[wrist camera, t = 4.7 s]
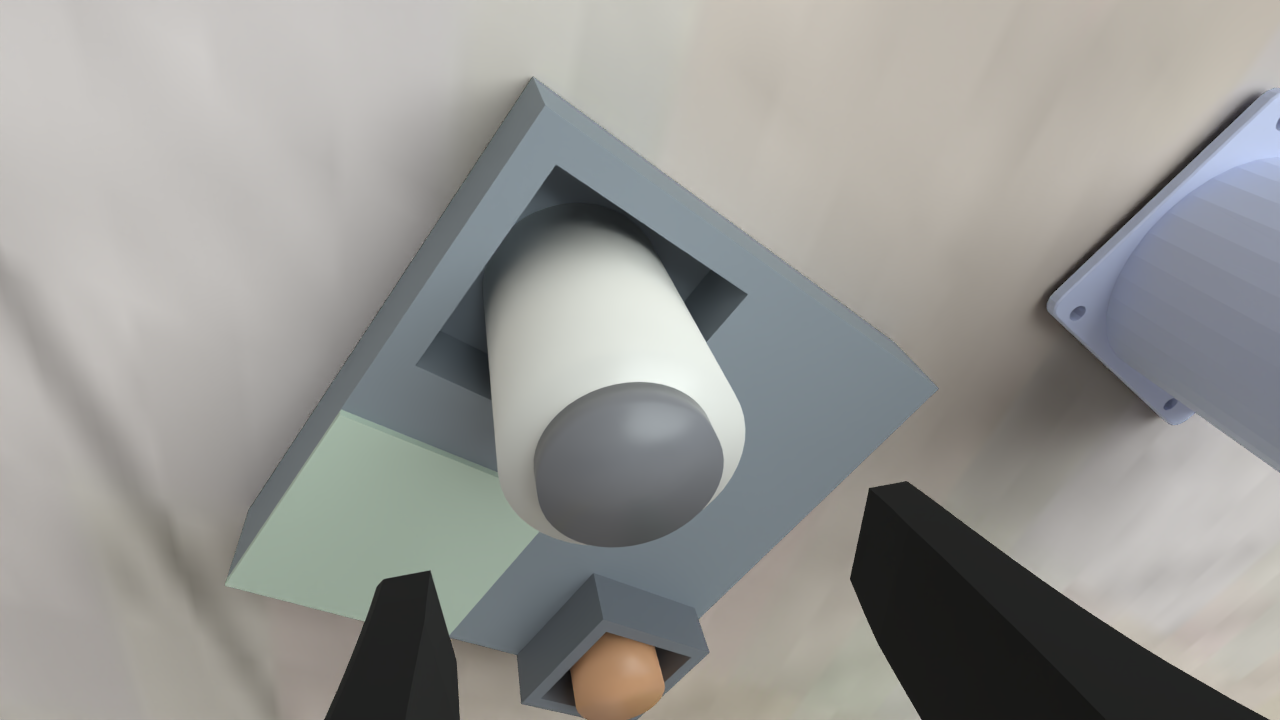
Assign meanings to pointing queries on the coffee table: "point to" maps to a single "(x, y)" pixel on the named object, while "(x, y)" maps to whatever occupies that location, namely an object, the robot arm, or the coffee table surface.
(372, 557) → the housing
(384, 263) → the coffee table surface
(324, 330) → the coffee table surface
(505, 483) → the cylinder
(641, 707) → the plunger
